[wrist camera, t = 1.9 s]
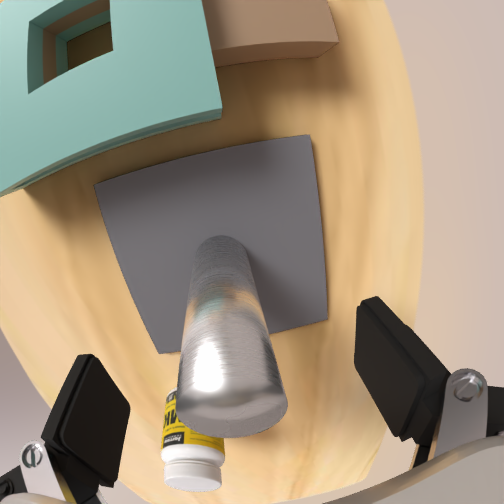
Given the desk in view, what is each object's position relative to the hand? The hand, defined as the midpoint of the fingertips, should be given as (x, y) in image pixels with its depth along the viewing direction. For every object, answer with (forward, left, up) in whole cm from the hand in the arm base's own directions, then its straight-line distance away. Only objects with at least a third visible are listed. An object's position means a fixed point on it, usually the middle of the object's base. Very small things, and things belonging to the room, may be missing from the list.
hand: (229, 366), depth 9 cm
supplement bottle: (+11, +8, -9) cm, 16 cm away
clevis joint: (-4, -14, -8) cm, 17 cm away
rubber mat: (0, 0, -8) cm, 8 cm away
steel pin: (0, 0, -8) cm, 8 cm away
